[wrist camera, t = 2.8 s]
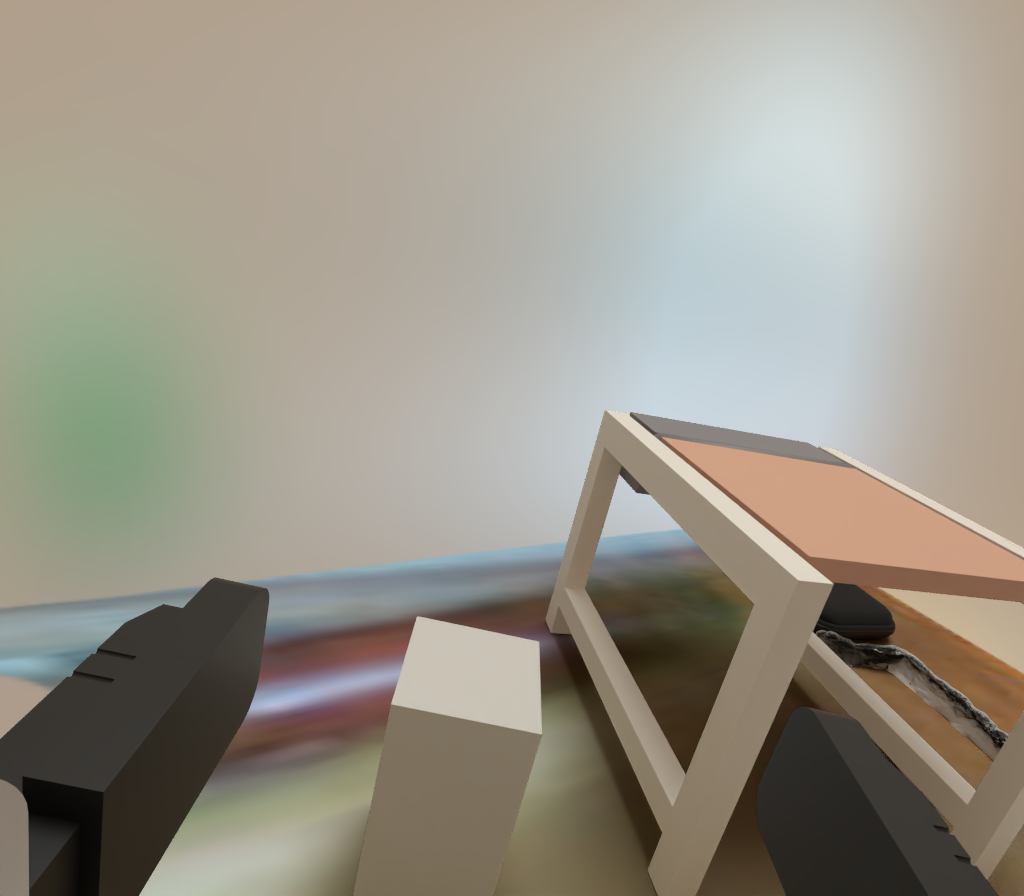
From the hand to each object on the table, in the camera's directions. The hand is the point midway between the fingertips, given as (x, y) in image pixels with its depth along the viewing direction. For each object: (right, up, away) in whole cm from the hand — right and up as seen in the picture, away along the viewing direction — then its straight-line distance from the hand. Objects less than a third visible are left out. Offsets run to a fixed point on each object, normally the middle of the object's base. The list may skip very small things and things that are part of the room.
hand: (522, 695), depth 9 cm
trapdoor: (+15, -2, +26) cm, 30 cm away
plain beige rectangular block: (-4, -14, +16) cm, 22 cm away
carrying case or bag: (+26, -10, +49) cm, 56 cm away
